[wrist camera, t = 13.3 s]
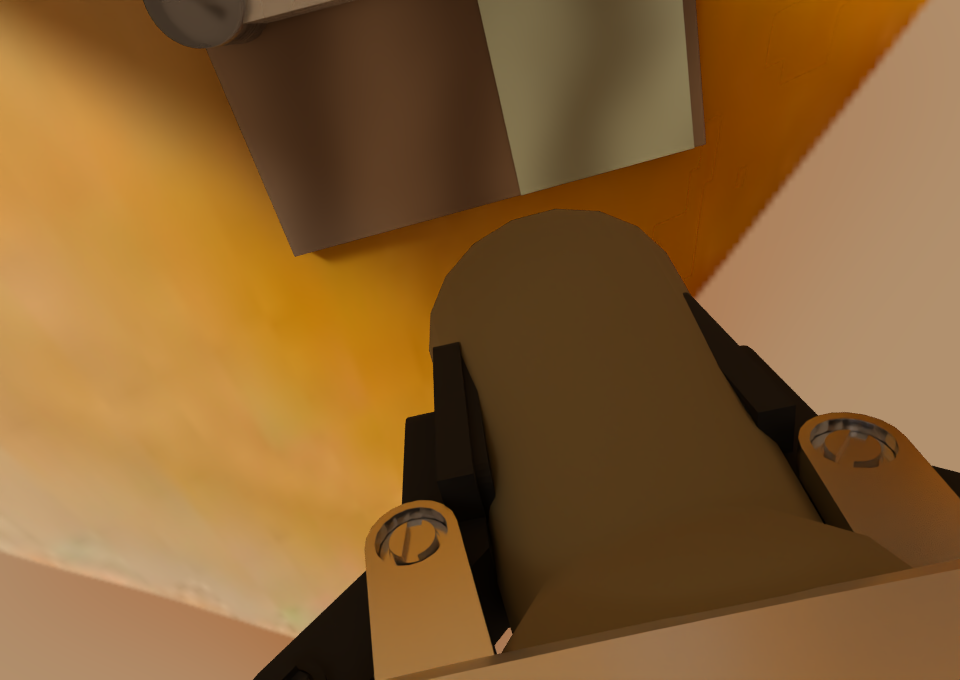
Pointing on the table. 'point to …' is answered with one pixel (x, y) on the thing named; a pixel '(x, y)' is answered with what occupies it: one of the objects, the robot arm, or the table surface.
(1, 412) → the table surface
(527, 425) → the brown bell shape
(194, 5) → the jaw
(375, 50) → the board
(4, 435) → the table surface
